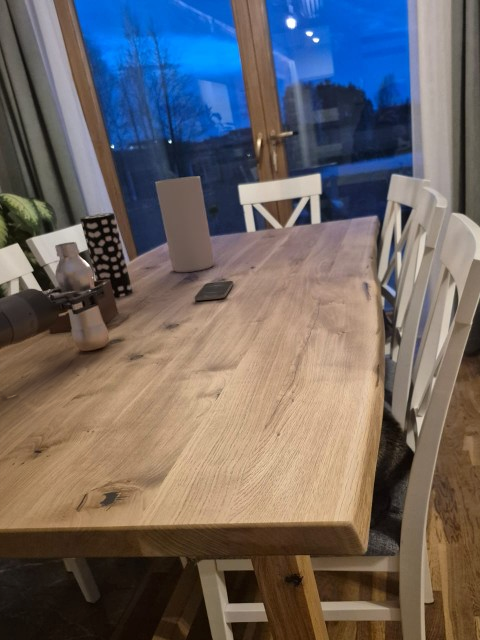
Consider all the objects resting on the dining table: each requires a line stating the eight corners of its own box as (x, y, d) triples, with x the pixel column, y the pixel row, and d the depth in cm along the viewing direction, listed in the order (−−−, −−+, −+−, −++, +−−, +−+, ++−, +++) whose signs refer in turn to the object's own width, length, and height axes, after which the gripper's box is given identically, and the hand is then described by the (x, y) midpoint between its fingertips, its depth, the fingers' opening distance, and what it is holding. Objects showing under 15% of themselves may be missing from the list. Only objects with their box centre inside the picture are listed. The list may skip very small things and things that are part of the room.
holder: (50, 333, 125) (39, 297, 122) (70, 317, 136) (61, 284, 132) (101, 328, 125) (91, 292, 121) (118, 313, 135) (109, 279, 132)
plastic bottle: (70, 351, 112) (39, 247, 104) (102, 340, 117) (75, 239, 108) (85, 357, 108) (54, 249, 100) (117, 346, 112) (91, 241, 104)
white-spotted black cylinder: (125, 288, 158) (106, 212, 150) (137, 292, 152) (119, 213, 143) (95, 295, 154) (75, 218, 145) (107, 300, 148) (86, 219, 139)
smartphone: (233, 280, 149) (224, 295, 135) (234, 283, 149) (225, 298, 135) (205, 283, 149) (193, 298, 136) (205, 286, 150) (193, 301, 136)
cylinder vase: (202, 261, 181) (187, 176, 171) (222, 265, 172) (207, 176, 161) (166, 270, 175) (148, 182, 164) (185, 275, 165) (167, 182, 155)
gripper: (43, 295, 92) (111, 270, 105) (-20, 295, 97) (52, 271, 111) (57, 340, 95) (120, 310, 108) (-5, 337, 100) (63, 309, 114)
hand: (86, 290), depth 109 cm, fingers open, 8 cm apart
